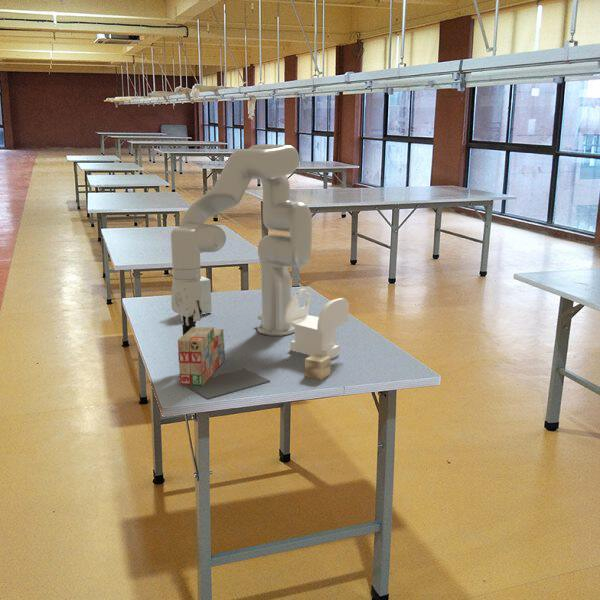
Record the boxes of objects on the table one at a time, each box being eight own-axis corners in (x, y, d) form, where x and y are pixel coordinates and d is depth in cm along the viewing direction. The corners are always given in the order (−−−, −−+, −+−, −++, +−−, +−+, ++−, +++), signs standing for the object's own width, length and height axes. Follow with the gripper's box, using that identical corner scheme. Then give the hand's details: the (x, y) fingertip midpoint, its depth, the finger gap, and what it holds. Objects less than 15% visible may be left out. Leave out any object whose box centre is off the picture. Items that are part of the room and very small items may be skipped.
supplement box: (203, 309, 251) (202, 275, 248) (212, 313, 245) (211, 279, 242) (184, 312, 247) (183, 277, 244) (193, 316, 241) (191, 281, 238)
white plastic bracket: (284, 352, 203) (283, 293, 199) (311, 342, 213) (312, 285, 208) (320, 362, 194) (321, 301, 190) (348, 351, 204) (349, 293, 199)
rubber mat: (183, 385, 178) (183, 384, 178) (244, 369, 189) (244, 368, 189) (207, 399, 169) (207, 398, 169) (270, 381, 180) (270, 380, 180)
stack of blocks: (204, 358, 198) (202, 317, 195) (225, 359, 197) (223, 318, 194) (179, 384, 177) (177, 339, 174) (203, 386, 176) (200, 340, 173)
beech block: (305, 376, 184) (305, 358, 183) (314, 370, 188) (314, 353, 187) (321, 379, 182) (321, 362, 180) (330, 374, 186) (330, 356, 185)
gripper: (161, 270, 189) (164, 334, 194) (188, 280, 178) (191, 347, 182) (185, 267, 194) (188, 329, 198) (213, 276, 182) (215, 341, 187)
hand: (189, 337), depth 190 cm, fingers closed
